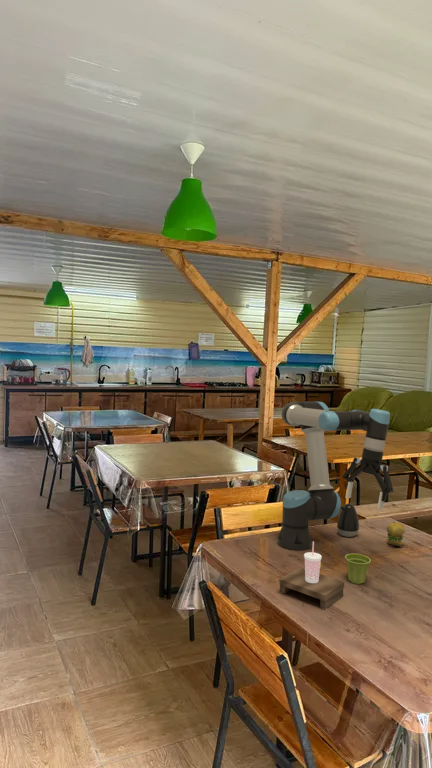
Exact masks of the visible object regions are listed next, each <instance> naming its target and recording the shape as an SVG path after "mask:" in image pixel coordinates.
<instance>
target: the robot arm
mask: <svg viewBox="0 0 432 768" xmlns="http://www.w3.org/2000/svg"><path fill="white" fill-rule="evenodd" d="M281 418H282V421H283V422H284V423H285V424H286V425H288V426H289V427H290V426H291V427H300V428H301V432H302V433H303V434H304V435H305V442H306V444H305V445H306V453H307V461H308V470H309V482H310V487H309V488H308V490H303V489H300V490H298V489H294V490H290V491H288V492H285V494H284V495H283V499H282V518H281V519H282V522H281V528H280V531H279V534H278V536H277V544H278V546H280V547H282V548H284V549H287V550H294V551H303V550H304V551H305V550H308V549H311V548H312V547H313V541H312V537H311V533H310V528H309V523H310V522H309V521H318V520H329V519H334V518H336V517H337V516H339V514H340V511H341V509H340V508H341V506H342V501H341V497H340V495H339V493H338V492H336V491H335V489H334V487H333V486H332V485H331V483H330V476H329V475H330V474H329V466H328V456H327V450H326V440H325V432H327V431H328V432H333V431H363V432H366V433H365V437H364V442H363V449H362V453H361V459H360V458H359V457H354V458H353V459H352V463H351V465H349V466H348V468H347V470H346V471H345V472H344V474H343V475H342V479H345V480H346V483H345V490H346V493H345V499H351V498H352V493H353V492H352V491H353V487H354V481H353V480H354V479H356V478H357V477H358V476H360V475H361V474H363V473H368V474H370V475H373V476H374V477H375V479H376V482H377V484H378V485H379V487H380V489H381V491H380V492H379V497H378V503H377V510H383V506H384V503H385V502H387V499H388V498H387V497H388V494H389V493H393V492H394V486H393V485H392V480H391V476H390V472H389V471H390V467H389V466H388V465H382V462H383V456H384V450H385V446H386V440H387V435H388V430H389V426H390V420H391V419H390V418H391V413H390V412H389V411H387V410H383V409H377V408H371V409H370V411H369V412H368V411H364V410H362V409H353V410H350V411H349V410H347V411H345V410H344V411H343V410H342V411H340V410H339V411H338V410H337V411H335V410H330V409H329V407H328V405H327V404H326V403H325V402H323V401H315V400H313V401H307V400H306V401H291V402H288V403H287V404H285V405H284V406H283V407H282V410H281ZM359 464H360V467H358V469H356V468H357V466H358V465H359ZM355 469H356V470H355ZM354 470H355V471H354ZM380 470H381V471H382V474H381V471H380ZM353 471H354V472H353ZM382 475H383V477H382Z"/></svg>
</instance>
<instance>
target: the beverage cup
mask: <svg viewBox="0 0 432 768" xmlns="http://www.w3.org/2000/svg"><path fill="white" fill-rule="evenodd" d="M311 548H312V550H311V552H305V553H304V554H303V558H304V569H305V580H306V581H307V582H309V583H317V582H318V581H319V574H320V572H321V571H320V569H321V567H320V562H321V560H322V555H321V554H320V553H319V552H315V551H314V550H315V549H314V548H315V541H312V546H311ZM321 563H322V562H321Z"/></svg>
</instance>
